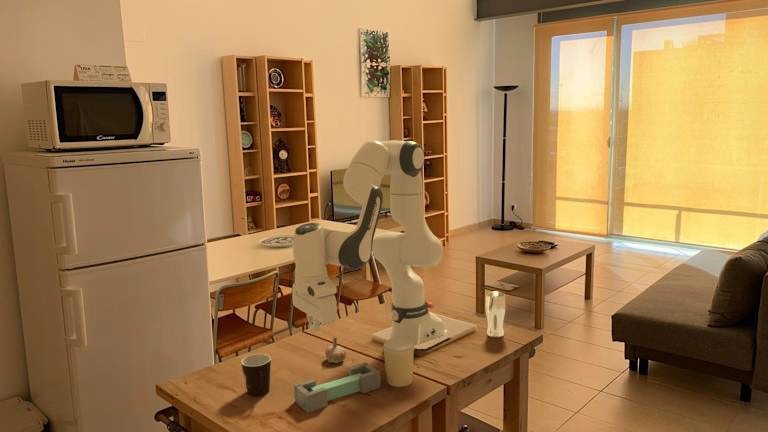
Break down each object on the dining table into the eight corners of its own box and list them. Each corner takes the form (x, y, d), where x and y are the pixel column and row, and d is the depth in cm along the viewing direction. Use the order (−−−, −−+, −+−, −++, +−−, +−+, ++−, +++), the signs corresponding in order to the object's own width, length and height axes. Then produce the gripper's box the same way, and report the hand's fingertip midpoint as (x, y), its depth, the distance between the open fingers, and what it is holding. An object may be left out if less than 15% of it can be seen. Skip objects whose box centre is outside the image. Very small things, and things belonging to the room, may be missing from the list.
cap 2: (366, 377, 181) (365, 362, 180) (380, 387, 174) (380, 371, 173) (349, 383, 177) (348, 367, 176) (363, 393, 171) (362, 377, 170)
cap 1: (307, 412, 161) (306, 396, 160) (294, 401, 168) (293, 385, 167) (327, 405, 164) (326, 389, 163) (314, 394, 171) (313, 378, 170)
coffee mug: (247, 384, 179) (245, 354, 177) (276, 384, 178) (273, 353, 176) (237, 404, 167) (234, 371, 165) (267, 403, 167) (264, 370, 165)
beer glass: (482, 335, 210) (482, 295, 207) (490, 329, 215) (490, 290, 213) (500, 339, 206) (500, 298, 203) (508, 332, 211) (508, 293, 209)
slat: (315, 405, 166) (315, 392, 165) (311, 400, 169) (310, 387, 168) (365, 390, 173) (365, 377, 173) (360, 385, 176) (359, 373, 176)
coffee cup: (421, 379, 178) (420, 342, 176) (400, 391, 171) (399, 352, 169) (399, 370, 184) (397, 334, 182) (377, 381, 178) (376, 344, 176)
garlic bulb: (334, 353, 199) (333, 331, 198) (351, 358, 195) (350, 335, 194) (320, 362, 193) (318, 339, 192) (337, 367, 189) (336, 343, 187)
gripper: (285, 276, 169) (288, 321, 172) (318, 293, 152) (322, 343, 155) (304, 271, 172) (308, 316, 175) (339, 288, 156) (342, 337, 158)
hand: (314, 329), depth 165 cm, fingers closed
